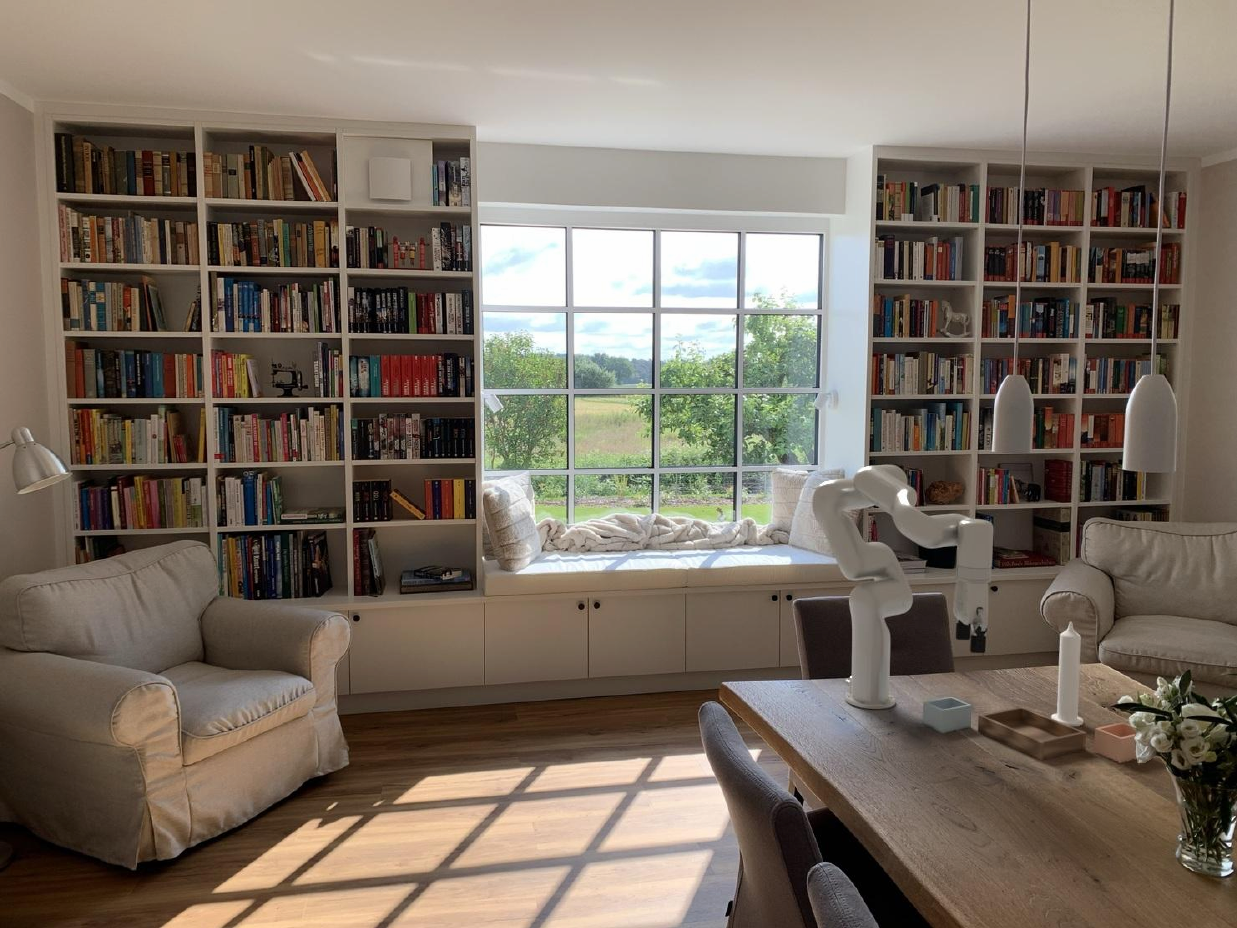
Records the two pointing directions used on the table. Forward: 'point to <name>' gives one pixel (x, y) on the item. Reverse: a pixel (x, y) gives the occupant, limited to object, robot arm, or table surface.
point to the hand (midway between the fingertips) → (969, 645)
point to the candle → (1068, 678)
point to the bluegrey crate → (947, 714)
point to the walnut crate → (1032, 732)
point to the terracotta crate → (1115, 742)
